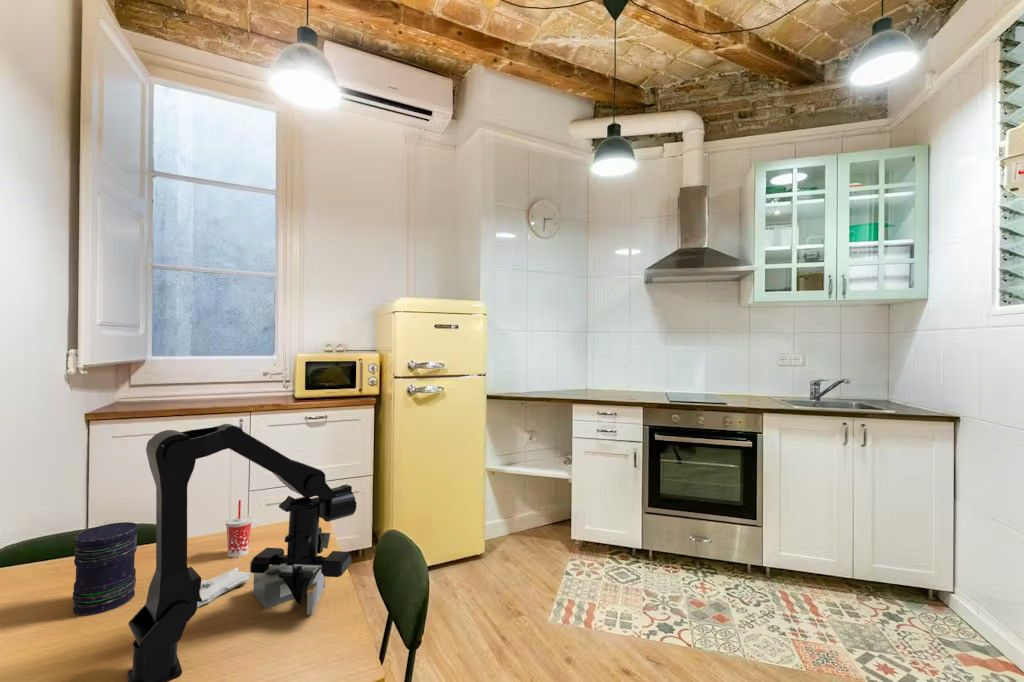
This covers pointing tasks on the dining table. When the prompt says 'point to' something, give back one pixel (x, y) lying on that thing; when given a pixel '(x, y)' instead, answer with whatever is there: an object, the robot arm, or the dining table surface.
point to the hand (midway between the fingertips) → (299, 603)
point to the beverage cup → (238, 534)
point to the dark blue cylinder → (104, 568)
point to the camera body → (272, 587)
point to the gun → (221, 584)
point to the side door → (315, 592)
